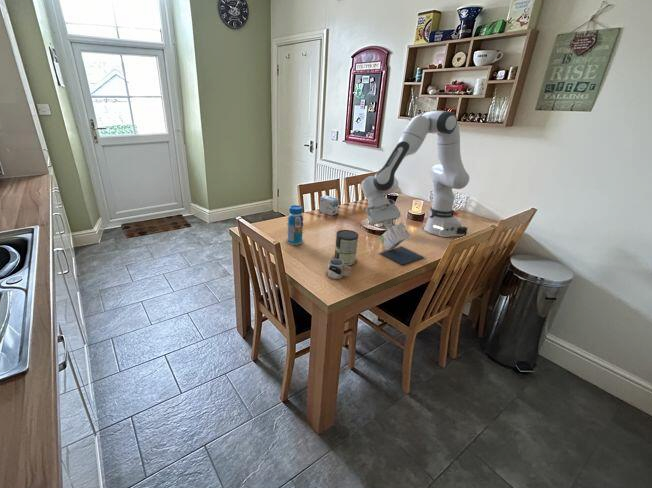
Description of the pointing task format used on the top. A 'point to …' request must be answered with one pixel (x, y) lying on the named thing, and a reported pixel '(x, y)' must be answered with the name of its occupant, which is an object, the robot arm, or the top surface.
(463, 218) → the top surface
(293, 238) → the beverage bottle
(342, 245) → the coffee can
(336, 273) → the mug
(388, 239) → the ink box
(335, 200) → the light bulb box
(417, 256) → the mat
